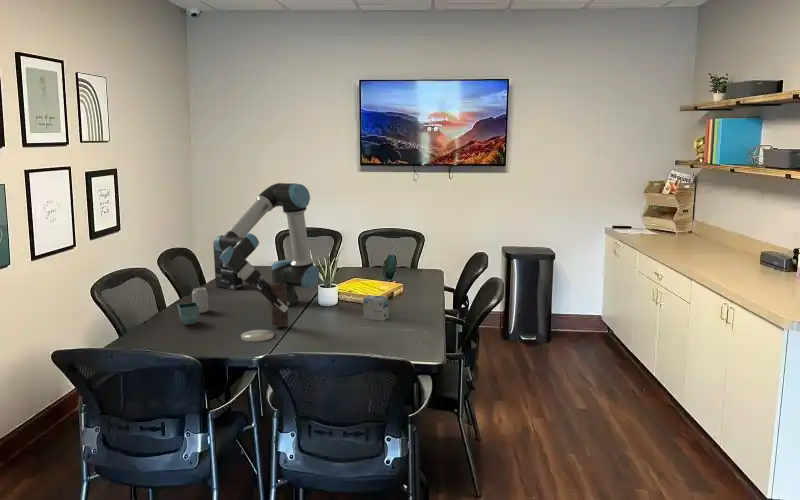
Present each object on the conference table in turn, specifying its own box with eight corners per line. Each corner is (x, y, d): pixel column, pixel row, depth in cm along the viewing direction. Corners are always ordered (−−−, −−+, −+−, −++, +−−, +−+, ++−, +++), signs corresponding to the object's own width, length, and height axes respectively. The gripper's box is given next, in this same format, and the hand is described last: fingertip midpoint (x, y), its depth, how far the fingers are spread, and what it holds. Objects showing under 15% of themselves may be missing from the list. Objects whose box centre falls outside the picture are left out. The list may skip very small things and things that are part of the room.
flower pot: (181, 327, 304) (180, 308, 303) (178, 322, 312) (176, 304, 310) (200, 324, 308) (199, 306, 307) (197, 320, 316) (196, 302, 314)
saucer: (266, 330, 297) (266, 328, 297) (278, 338, 286) (278, 335, 285) (236, 335, 290) (236, 333, 290) (247, 343, 278) (247, 340, 278)
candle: (280, 329, 297) (278, 286, 294) (268, 327, 301) (266, 284, 297) (291, 325, 303) (290, 283, 300) (279, 323, 307) (278, 281, 304)
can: (204, 313, 327) (202, 290, 325) (190, 313, 329) (188, 289, 327) (211, 310, 334) (209, 287, 332) (197, 309, 336) (196, 286, 334)
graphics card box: (243, 288, 384) (241, 242, 380) (235, 290, 378) (232, 244, 374) (223, 285, 393) (221, 240, 389) (214, 287, 387) (212, 241, 383)
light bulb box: (388, 317, 318) (388, 296, 316) (383, 321, 312) (383, 299, 310) (368, 315, 322) (368, 294, 320) (363, 319, 315) (362, 297, 314)
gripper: (247, 275, 307) (283, 308, 311) (240, 285, 287) (279, 319, 291) (258, 264, 306) (294, 297, 310) (252, 273, 286) (291, 307, 291)
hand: (287, 308), depth 301 cm, fingers closed on candle, 7 cm apart
